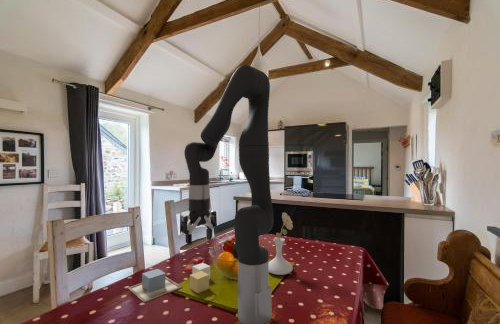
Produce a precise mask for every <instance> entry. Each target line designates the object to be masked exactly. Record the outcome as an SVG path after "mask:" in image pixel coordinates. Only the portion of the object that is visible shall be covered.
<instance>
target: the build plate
mask: <svg viewBox="0 0 500 324" xmlns="http://www.w3.org/2000/svg"><path fill="white" fill-rule="evenodd" d="M180 289H183V286H182V285H180V284H179V283H177V282H175V281H174V280H172V279H171V278H168V277H167V276H166V275H165V287H164V288H161V289H159V290H156V291H153V292H151V293H149V292H148V291H146V290H145V289H144V288H142V282H140V283H136V284H134V285H131V286H129V287H127V290H129V291H130V292H131V293H132V294H133V295H134V296H136V297H137V298H138V299H139V300H140V301H142V303H144V304H145V303H148V302H150V301H153V300H155V299H158V298H160V297H162V296H165V295H168V294H170V293H173V292H176V291H178V290H180Z"/></svg>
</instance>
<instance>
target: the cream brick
mask: <svg viewBox="0 0 500 324" xmlns="http://www.w3.org/2000/svg"><path fill="white" fill-rule="evenodd" d="M199 271H203V272H205V273H207V274H209V280H210V279H211V265H208V264H207V263H205V264H204V263H201V264H198V265H195V266H192V273H191V274H193V273H196V272H199Z"/></svg>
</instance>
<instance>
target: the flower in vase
mask: <svg viewBox="0 0 500 324" xmlns="http://www.w3.org/2000/svg"><path fill="white" fill-rule="evenodd" d="M281 219H282V222H283V224H282V227H281V230H280V233H279V232H276V233H275V236H278V237H275V238H273V239H272V240H273V242H274V243H275V248H276V254H275V257H273V259H272V260H270V261H269V273H270V274H273V275H276V276H284V275H288V274H291V273H292V272H293V269H294V267H293V265H292V264H291V263H290V262H289V261H287V260H286V258H284V257H283V253H282V252H283V244H284V242H285V240H286V239H285V238H283V237H281V236H282V234H283V235H284V236H286V235H288V231H287V230H286V229H288V230H289V231H292V230H293V228H294V226H293V223H294V222H293V220H292V219H291V217H290V215H288V213H286V212H282V215H281ZM284 226H285V227H286V229H285V228H284Z"/></svg>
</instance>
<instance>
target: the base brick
mask: <svg viewBox="0 0 500 324" xmlns="http://www.w3.org/2000/svg"><path fill="white" fill-rule="evenodd" d="M165 276H166V272H165V271H163V270H161V269H159V268H156V269H153V270H149V271H145V272H143V273H141V283H142V288H144V289H145V290H146V291H148V292H149V293H151V292H153V291H156V290H159V289H161V288H164V287H165Z"/></svg>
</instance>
